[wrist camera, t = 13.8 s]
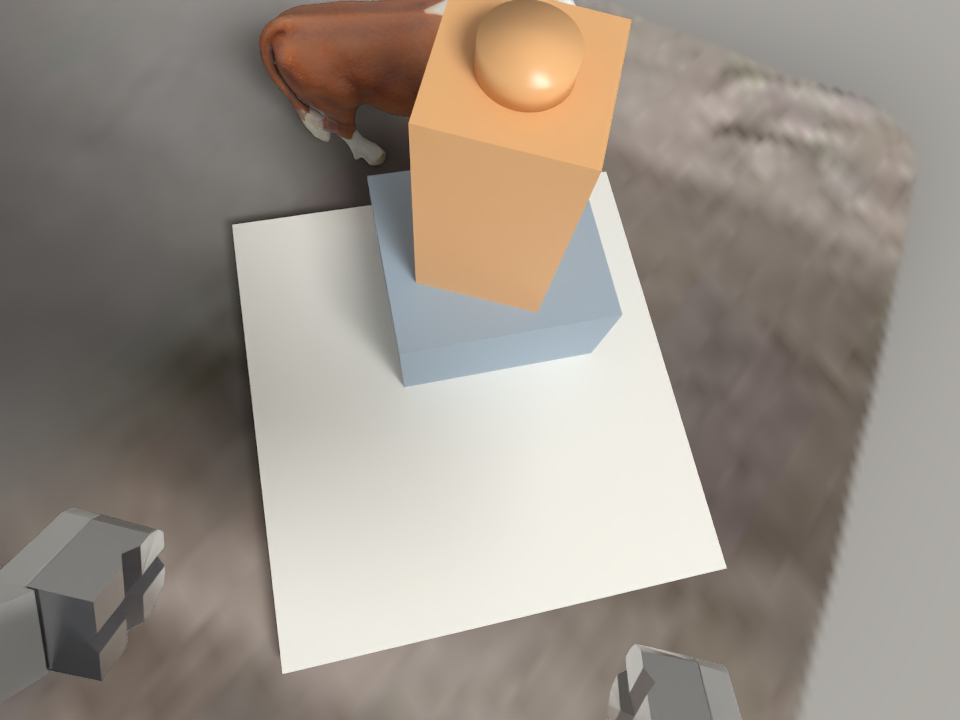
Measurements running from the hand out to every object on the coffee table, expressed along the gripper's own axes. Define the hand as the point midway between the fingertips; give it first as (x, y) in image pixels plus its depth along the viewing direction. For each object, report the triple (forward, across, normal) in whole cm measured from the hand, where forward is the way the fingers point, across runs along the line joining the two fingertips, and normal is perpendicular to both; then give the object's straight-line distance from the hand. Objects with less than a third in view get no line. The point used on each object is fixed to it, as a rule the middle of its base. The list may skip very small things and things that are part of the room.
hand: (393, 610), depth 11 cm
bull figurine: (+24, +4, -4) cm, 25 cm away
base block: (+18, 0, +1) cm, 18 cm away
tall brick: (+15, 0, -2) cm, 15 cm away
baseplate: (+16, 0, +5) cm, 16 cm away
